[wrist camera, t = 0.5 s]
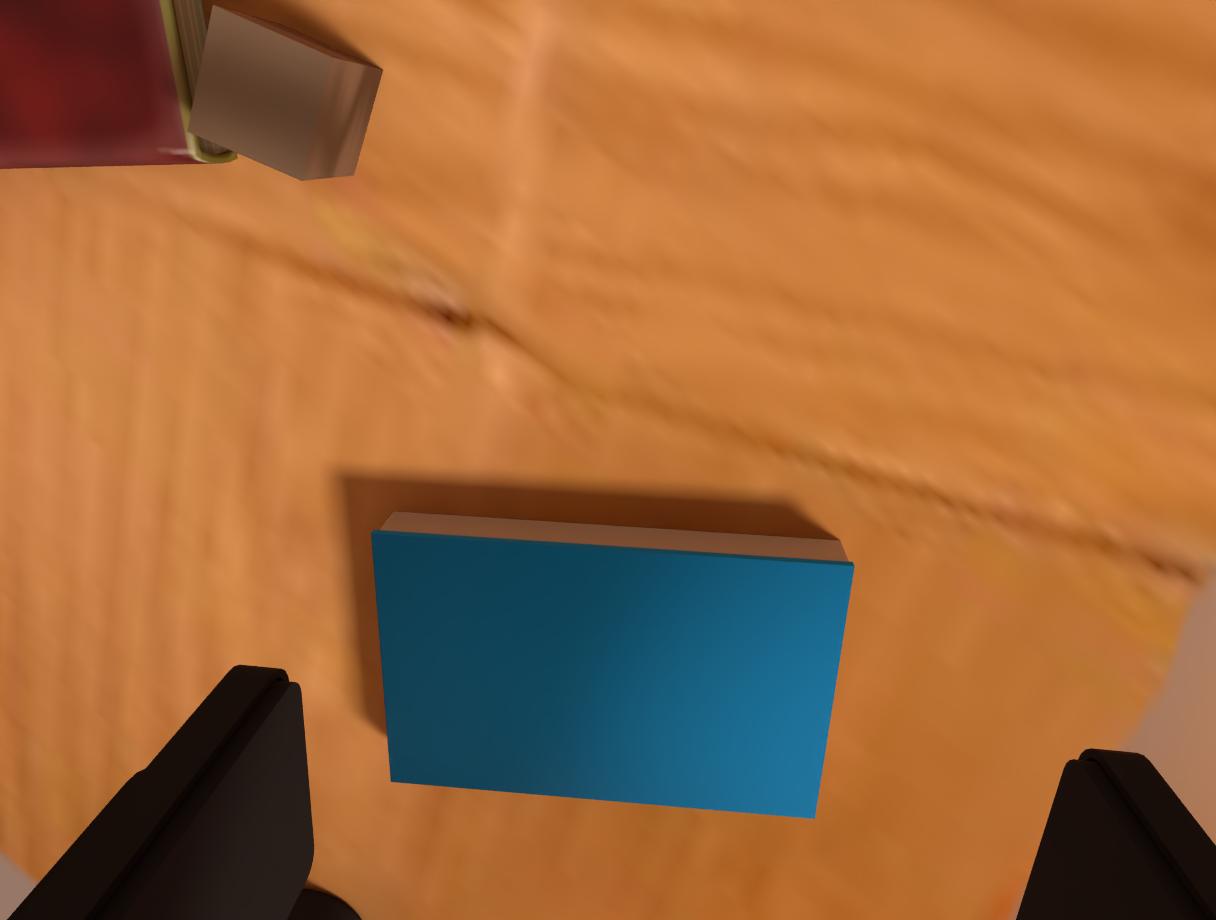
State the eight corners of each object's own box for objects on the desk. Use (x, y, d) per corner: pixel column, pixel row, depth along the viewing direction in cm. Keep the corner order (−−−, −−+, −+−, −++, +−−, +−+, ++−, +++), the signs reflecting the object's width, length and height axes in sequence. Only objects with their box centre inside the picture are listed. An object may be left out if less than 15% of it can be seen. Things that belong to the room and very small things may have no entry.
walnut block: (281, 24, 38) (213, 4, 33) (383, 69, 38) (333, 58, 33) (256, 132, 40) (187, 131, 34) (354, 175, 40) (301, 180, 35)
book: (366, 532, 43) (856, 564, 41) (394, 499, 47) (842, 526, 45) (390, 792, 49) (817, 830, 47) (413, 743, 53) (808, 777, 51)
